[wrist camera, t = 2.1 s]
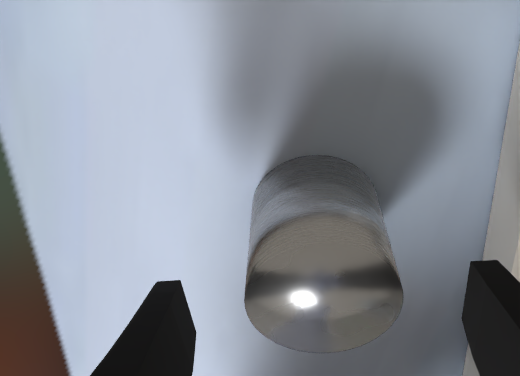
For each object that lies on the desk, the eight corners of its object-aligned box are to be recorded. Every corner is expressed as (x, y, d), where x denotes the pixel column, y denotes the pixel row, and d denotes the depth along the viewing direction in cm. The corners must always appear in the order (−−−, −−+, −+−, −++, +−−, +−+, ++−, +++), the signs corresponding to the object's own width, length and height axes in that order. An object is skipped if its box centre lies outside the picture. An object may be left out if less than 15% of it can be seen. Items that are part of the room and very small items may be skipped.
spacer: (377, 250, 17) (400, 349, 13) (260, 258, 17) (255, 356, 14) (378, 149, 14) (406, 237, 11) (244, 161, 15) (233, 249, 12)
